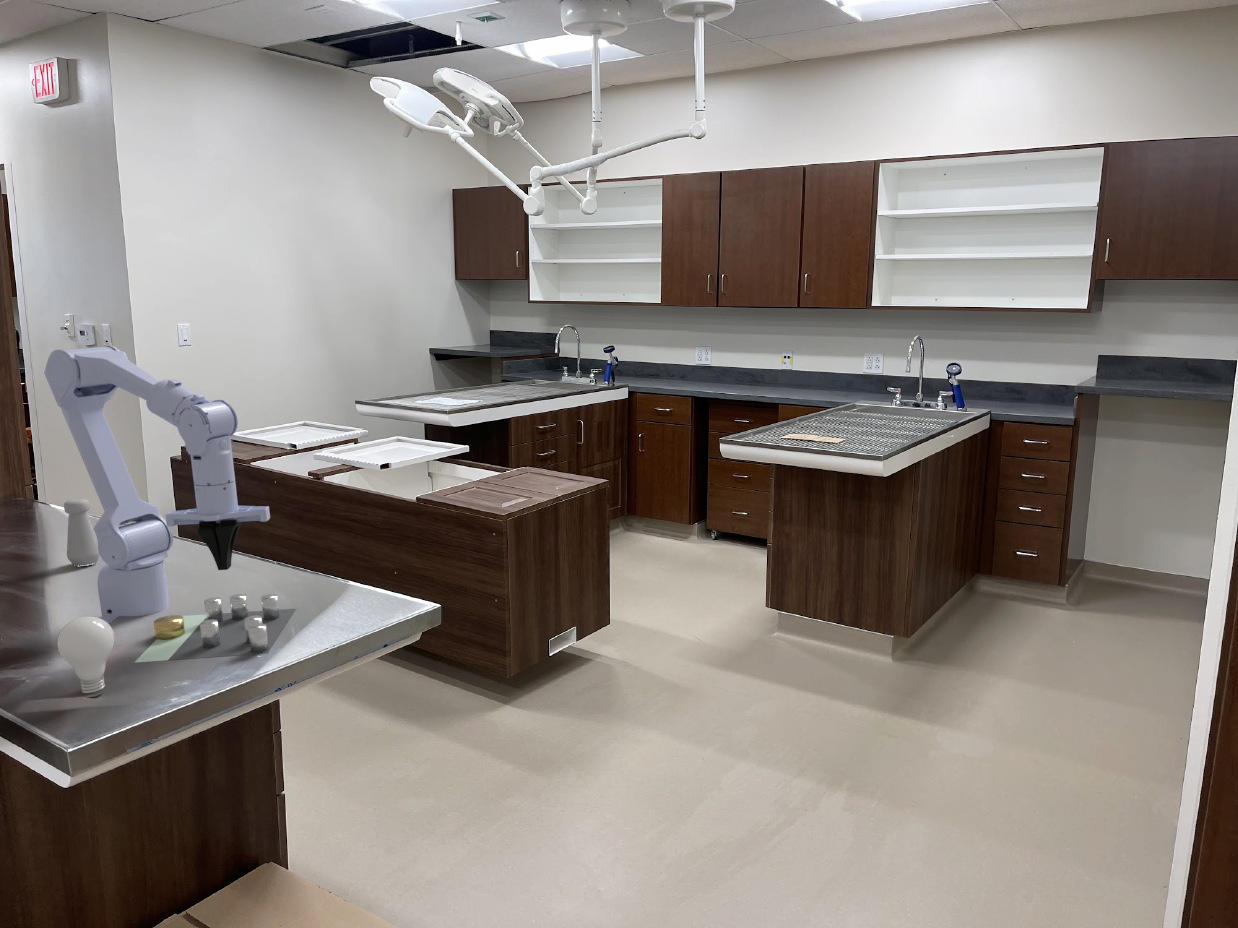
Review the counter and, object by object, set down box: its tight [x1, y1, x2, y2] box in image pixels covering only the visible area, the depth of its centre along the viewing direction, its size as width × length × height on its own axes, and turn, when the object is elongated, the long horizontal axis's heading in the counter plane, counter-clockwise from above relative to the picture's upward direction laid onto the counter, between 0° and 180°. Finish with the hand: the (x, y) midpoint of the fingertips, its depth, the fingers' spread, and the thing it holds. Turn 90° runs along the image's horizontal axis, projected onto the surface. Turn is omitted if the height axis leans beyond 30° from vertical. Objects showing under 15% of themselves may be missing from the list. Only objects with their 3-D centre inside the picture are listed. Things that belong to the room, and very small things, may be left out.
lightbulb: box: [57, 615, 116, 699], centre depth 117 cm, size 6×6×11 cm
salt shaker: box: [63, 498, 101, 567], centre depth 175 cm, size 6×6×13 cm
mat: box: [133, 608, 297, 664], centre depth 136 cm, size 18×18×1 cm
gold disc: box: [153, 614, 185, 640], centre depth 135 cm, size 4×4×2 cm
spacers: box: [200, 593, 280, 653], centre depth 135 cm, size 12×16×4 cm
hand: (224, 568), depth 139 cm, fingers closed
